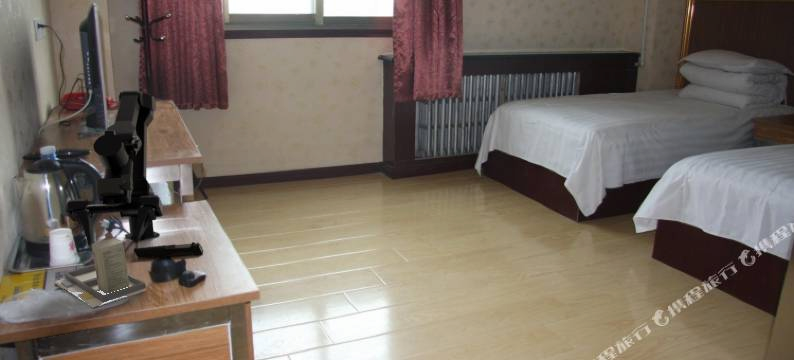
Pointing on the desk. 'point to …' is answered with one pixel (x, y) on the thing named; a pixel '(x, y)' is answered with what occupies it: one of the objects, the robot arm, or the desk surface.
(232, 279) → the desk surface
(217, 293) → the desk surface
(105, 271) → the skincare box
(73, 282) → the divided tray
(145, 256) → the electric trimmer
